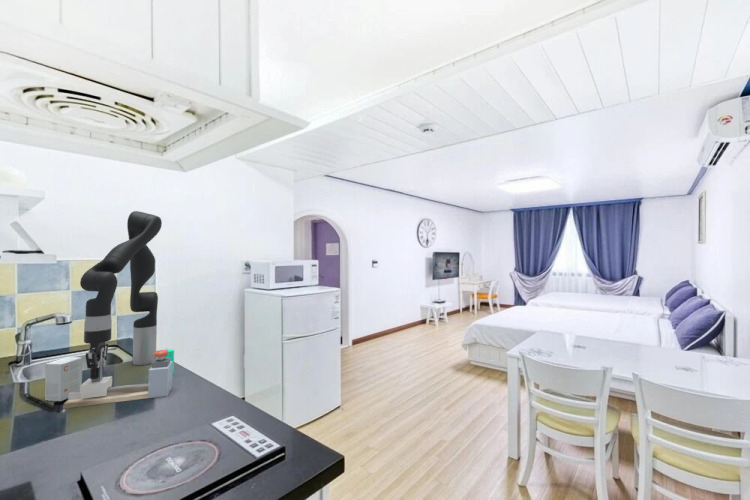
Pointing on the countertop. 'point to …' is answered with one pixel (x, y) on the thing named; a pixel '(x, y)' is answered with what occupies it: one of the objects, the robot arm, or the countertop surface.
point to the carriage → (96, 385)
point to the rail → (109, 396)
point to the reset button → (161, 354)
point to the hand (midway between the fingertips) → (97, 376)
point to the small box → (62, 378)
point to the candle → (171, 356)
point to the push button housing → (160, 378)
